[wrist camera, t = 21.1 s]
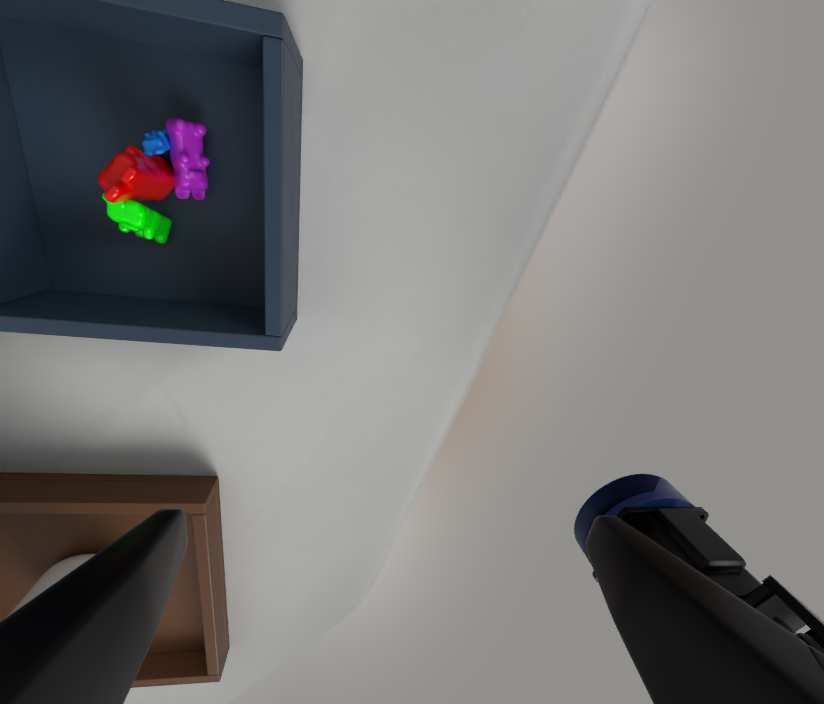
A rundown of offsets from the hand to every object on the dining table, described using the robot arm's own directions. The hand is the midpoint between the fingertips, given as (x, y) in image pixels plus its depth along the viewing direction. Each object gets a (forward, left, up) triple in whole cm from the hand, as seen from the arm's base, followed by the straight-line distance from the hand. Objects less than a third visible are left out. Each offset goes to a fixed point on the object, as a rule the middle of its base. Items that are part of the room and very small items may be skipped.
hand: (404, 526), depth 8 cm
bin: (+6, +9, -12) cm, 16 cm away
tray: (-16, +15, -12) cm, 24 cm away
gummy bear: (+6, +9, -11) cm, 15 cm away
